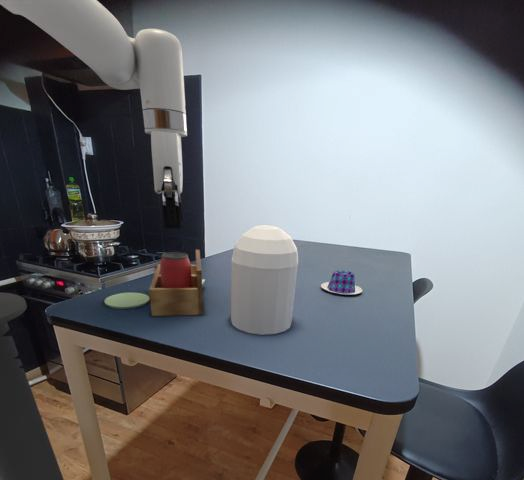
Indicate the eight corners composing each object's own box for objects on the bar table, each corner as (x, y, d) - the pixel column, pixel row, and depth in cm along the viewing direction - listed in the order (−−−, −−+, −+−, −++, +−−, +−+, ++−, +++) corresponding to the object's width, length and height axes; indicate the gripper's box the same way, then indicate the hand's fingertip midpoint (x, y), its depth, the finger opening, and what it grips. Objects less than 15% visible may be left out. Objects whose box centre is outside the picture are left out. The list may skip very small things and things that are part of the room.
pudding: (358, 285, 98) (361, 268, 96) (365, 298, 88) (369, 280, 85) (319, 282, 99) (321, 265, 96) (321, 294, 88) (324, 276, 86)
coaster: (100, 309, 71) (99, 307, 70) (109, 294, 79) (109, 292, 79) (147, 308, 73) (146, 306, 72) (151, 294, 81) (151, 292, 81)
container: (299, 317, 73) (310, 225, 64) (280, 340, 62) (290, 233, 53) (246, 306, 77) (249, 218, 68) (219, 326, 66) (218, 224, 57)
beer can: (198, 306, 76) (196, 255, 70) (177, 313, 71) (173, 259, 65) (179, 299, 79) (175, 250, 73) (158, 306, 74) (152, 254, 68)
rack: (151, 316, 69) (146, 270, 64) (160, 286, 87) (156, 248, 82) (203, 314, 71) (201, 270, 66) (200, 286, 89) (199, 249, 84)
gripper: (149, 129, 65) (159, 219, 73) (137, 116, 50) (150, 231, 58) (187, 131, 66) (192, 219, 74) (186, 120, 51) (192, 231, 59)
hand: (174, 224), depth 66 cm, fingers open, 9 cm apart
